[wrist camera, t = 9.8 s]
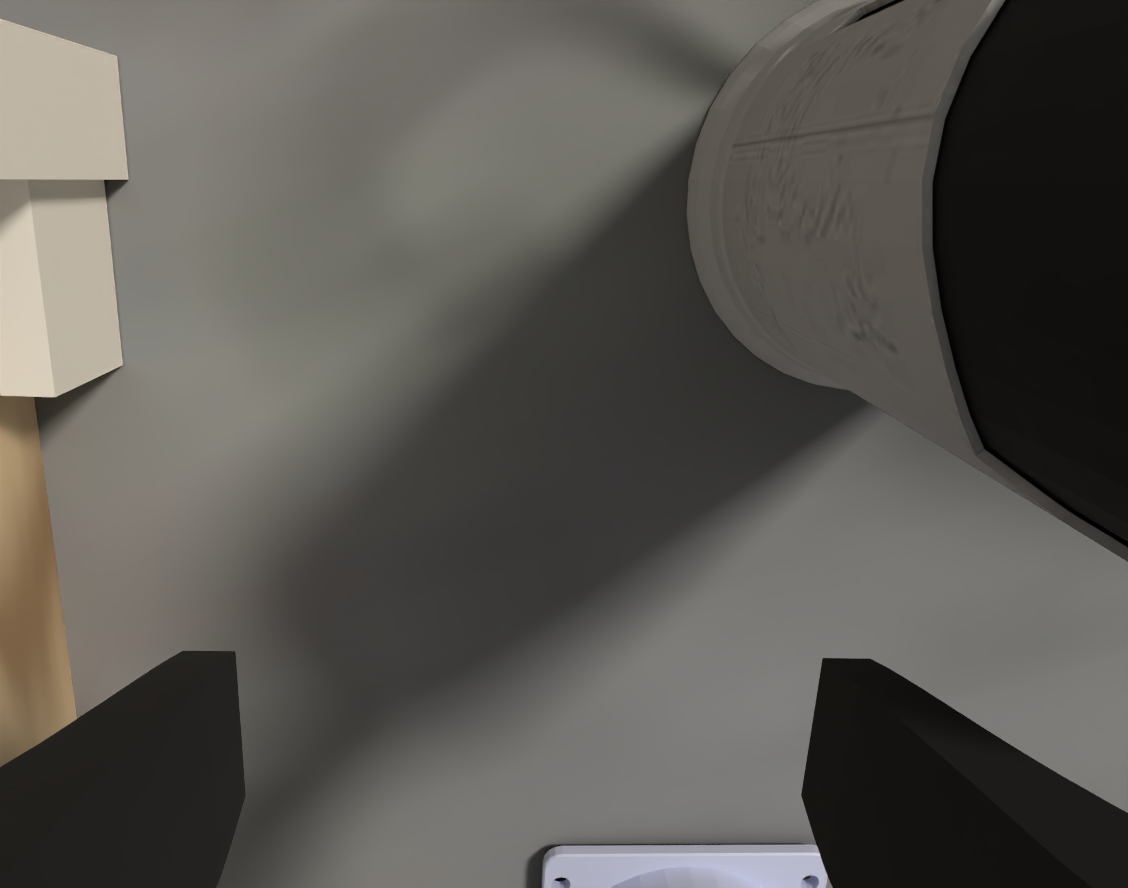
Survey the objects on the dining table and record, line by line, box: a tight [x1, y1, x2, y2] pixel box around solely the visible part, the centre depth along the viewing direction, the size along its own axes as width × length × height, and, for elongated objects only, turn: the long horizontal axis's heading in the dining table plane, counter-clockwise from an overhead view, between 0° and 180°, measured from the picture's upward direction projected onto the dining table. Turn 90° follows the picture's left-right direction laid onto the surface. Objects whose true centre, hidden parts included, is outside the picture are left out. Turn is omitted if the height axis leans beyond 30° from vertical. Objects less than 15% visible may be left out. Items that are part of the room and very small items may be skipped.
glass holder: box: [686, 0, 1128, 561], centre depth 11 cm, size 9×14×15 cm, turn 14°
